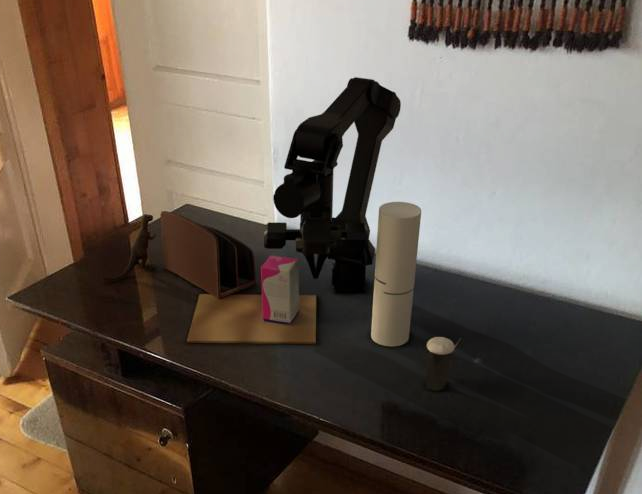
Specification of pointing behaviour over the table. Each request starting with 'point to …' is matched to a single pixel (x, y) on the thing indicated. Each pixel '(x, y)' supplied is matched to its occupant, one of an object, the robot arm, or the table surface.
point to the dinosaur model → (138, 249)
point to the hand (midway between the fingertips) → (315, 278)
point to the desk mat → (249, 321)
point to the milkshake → (438, 362)
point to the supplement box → (280, 289)
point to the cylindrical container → (395, 272)
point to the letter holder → (206, 256)
